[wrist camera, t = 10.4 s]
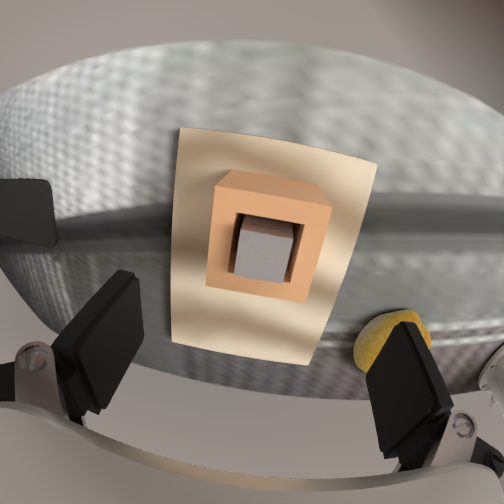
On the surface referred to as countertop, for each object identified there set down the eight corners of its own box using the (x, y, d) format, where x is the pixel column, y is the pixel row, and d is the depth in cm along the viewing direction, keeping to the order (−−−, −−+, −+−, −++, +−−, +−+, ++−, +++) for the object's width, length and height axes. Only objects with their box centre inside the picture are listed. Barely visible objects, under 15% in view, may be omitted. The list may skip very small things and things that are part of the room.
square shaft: (281, 236, 20) (282, 283, 15) (246, 229, 20) (233, 275, 15) (288, 202, 19) (293, 239, 14) (251, 196, 19) (240, 229, 14)
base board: (307, 358, 27) (308, 365, 26) (174, 335, 27) (171, 341, 26) (373, 162, 18) (377, 164, 17) (184, 127, 18) (180, 127, 18)
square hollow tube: (299, 260, 21) (304, 303, 16) (221, 246, 21) (205, 285, 16) (317, 184, 19) (332, 207, 14) (231, 168, 19) (215, 186, 14)
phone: (-18, 179, 21) (47, 180, 20) (-14, 177, 21) (53, 178, 21) (-11, 232, 24) (56, 249, 24) (-7, 230, 25) (60, 246, 24)
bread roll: (402, 291, 23) (417, 317, 20) (432, 336, 25) (445, 361, 22) (334, 340, 26) (340, 369, 23) (374, 375, 28) (382, 401, 25)
